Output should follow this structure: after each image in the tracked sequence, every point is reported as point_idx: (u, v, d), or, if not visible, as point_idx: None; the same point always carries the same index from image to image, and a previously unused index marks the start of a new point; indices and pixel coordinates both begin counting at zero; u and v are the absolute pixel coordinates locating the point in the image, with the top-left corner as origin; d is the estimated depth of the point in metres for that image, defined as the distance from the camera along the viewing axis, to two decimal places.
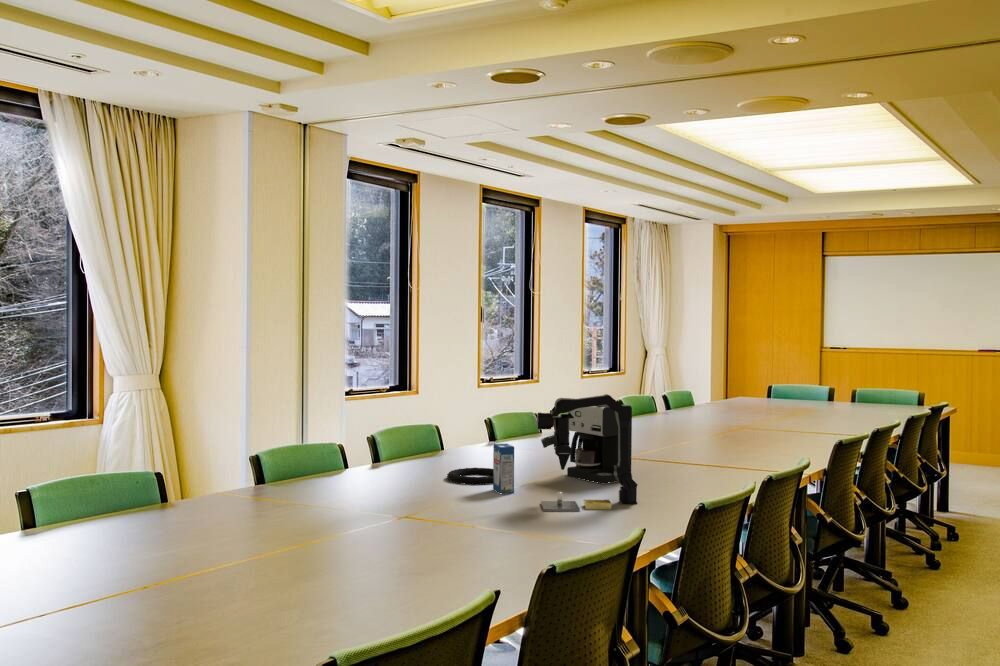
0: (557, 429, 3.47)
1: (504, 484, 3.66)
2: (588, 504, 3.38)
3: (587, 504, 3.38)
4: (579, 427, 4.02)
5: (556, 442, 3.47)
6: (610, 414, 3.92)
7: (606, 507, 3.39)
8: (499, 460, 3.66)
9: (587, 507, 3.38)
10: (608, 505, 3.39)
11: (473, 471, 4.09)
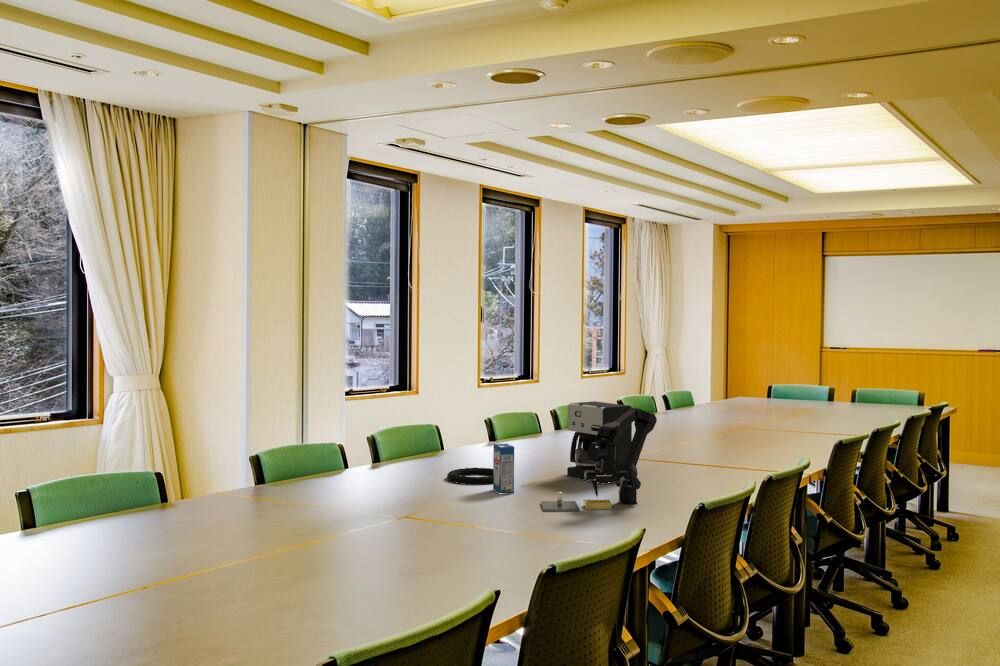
0: None
1: (504, 484, 3.66)
2: (588, 504, 3.38)
3: (587, 504, 3.38)
4: (579, 427, 4.02)
5: (600, 468, 3.44)
6: (611, 414, 3.92)
7: (606, 507, 3.39)
8: (499, 460, 3.66)
9: (587, 507, 3.38)
10: (608, 505, 3.39)
11: (473, 471, 4.09)
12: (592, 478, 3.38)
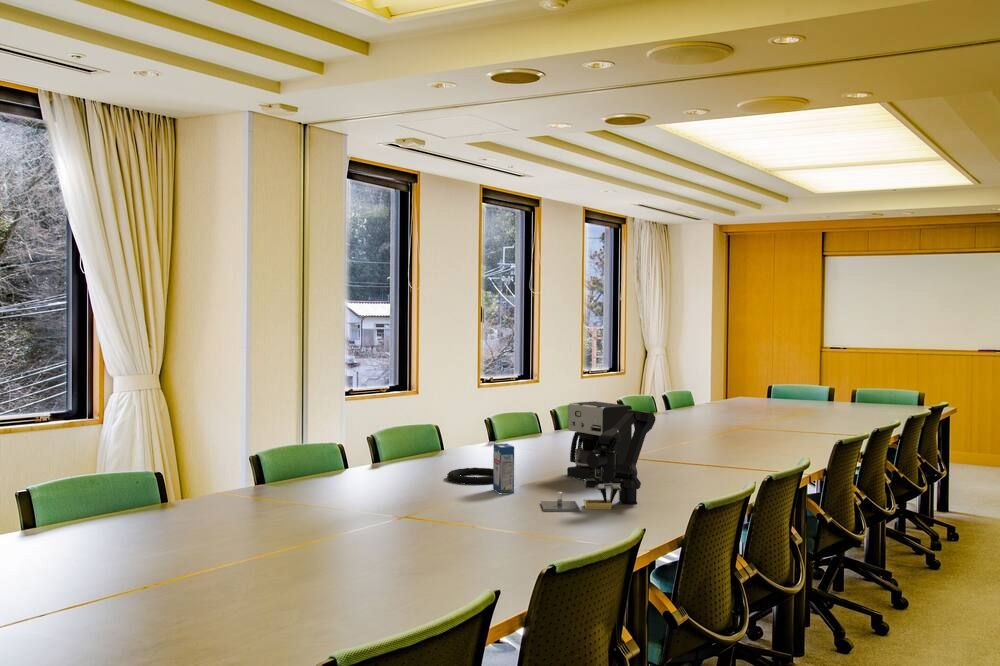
0: None
1: (504, 484, 3.66)
2: (588, 504, 3.38)
3: (587, 504, 3.38)
4: (579, 427, 4.02)
5: (600, 476, 3.44)
6: (610, 414, 3.92)
7: (606, 507, 3.39)
8: (499, 460, 3.66)
9: (587, 507, 3.38)
10: (608, 505, 3.39)
11: (473, 471, 4.09)
12: (592, 486, 3.38)
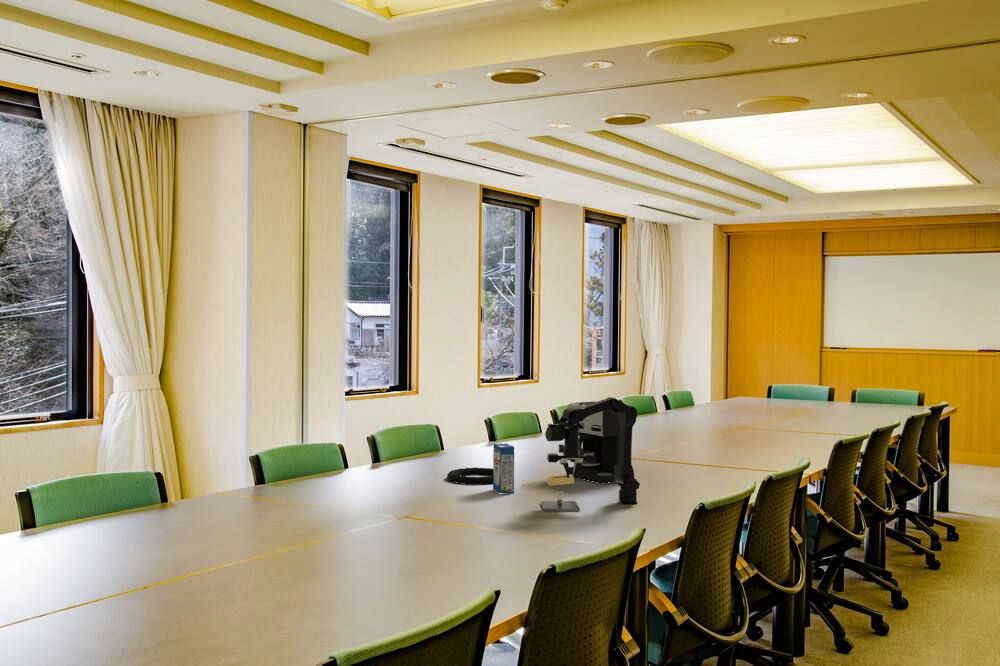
0: None
1: (504, 484, 3.66)
2: (551, 480, 3.37)
3: (550, 480, 3.37)
4: None
5: (563, 451, 3.43)
6: (611, 414, 3.92)
7: (569, 482, 3.38)
8: (499, 460, 3.66)
9: (550, 483, 3.37)
10: (571, 479, 3.38)
11: (473, 471, 4.09)
12: (554, 461, 3.38)
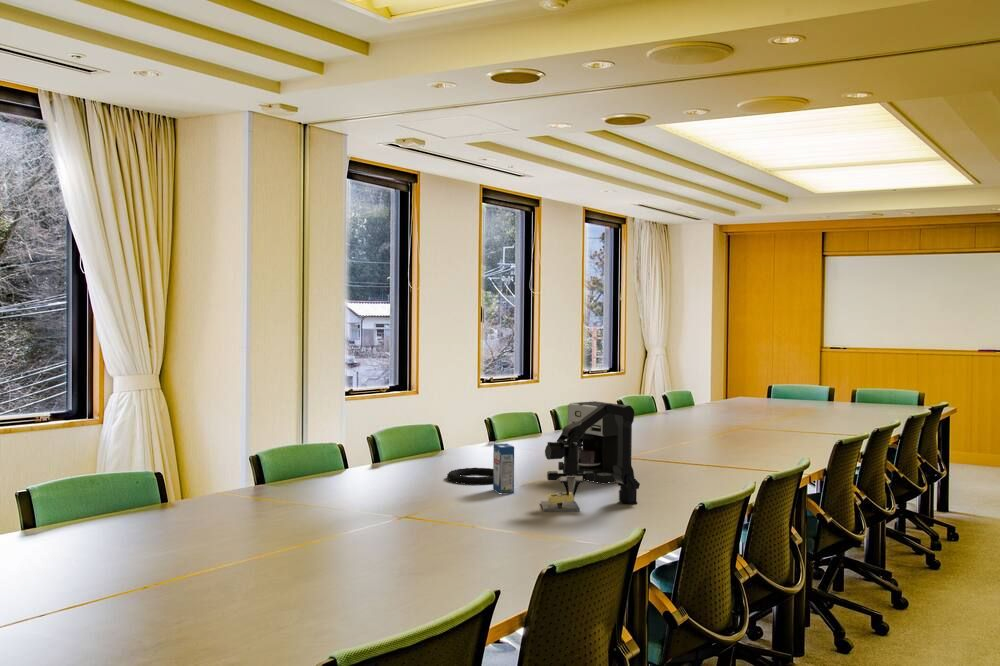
0: None
1: (504, 484, 3.66)
2: (550, 498, 3.38)
3: (549, 499, 3.38)
4: None
5: (563, 469, 3.43)
6: (610, 414, 3.92)
7: (569, 500, 3.38)
8: (499, 460, 3.66)
9: (550, 502, 3.38)
10: (571, 497, 3.38)
11: (473, 471, 4.09)
12: (554, 479, 3.38)
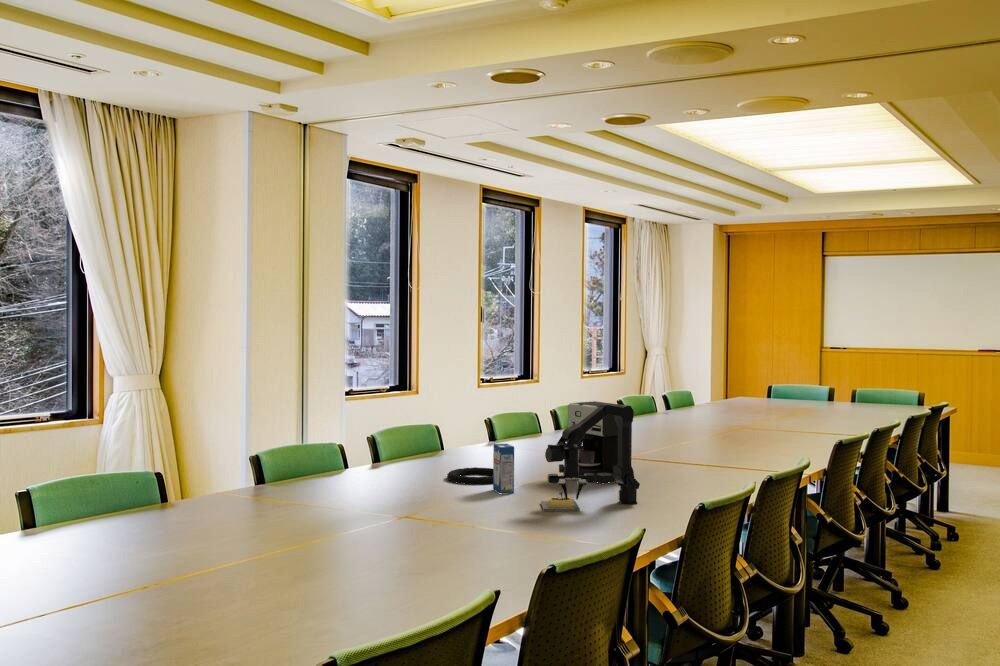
0: None
1: (504, 484, 3.66)
2: (551, 501, 3.38)
3: (550, 501, 3.38)
4: None
5: (563, 472, 3.43)
6: None
7: (569, 504, 3.38)
8: (499, 460, 3.66)
9: (550, 504, 3.38)
10: (571, 502, 3.38)
11: (473, 471, 4.09)
12: (555, 481, 3.38)
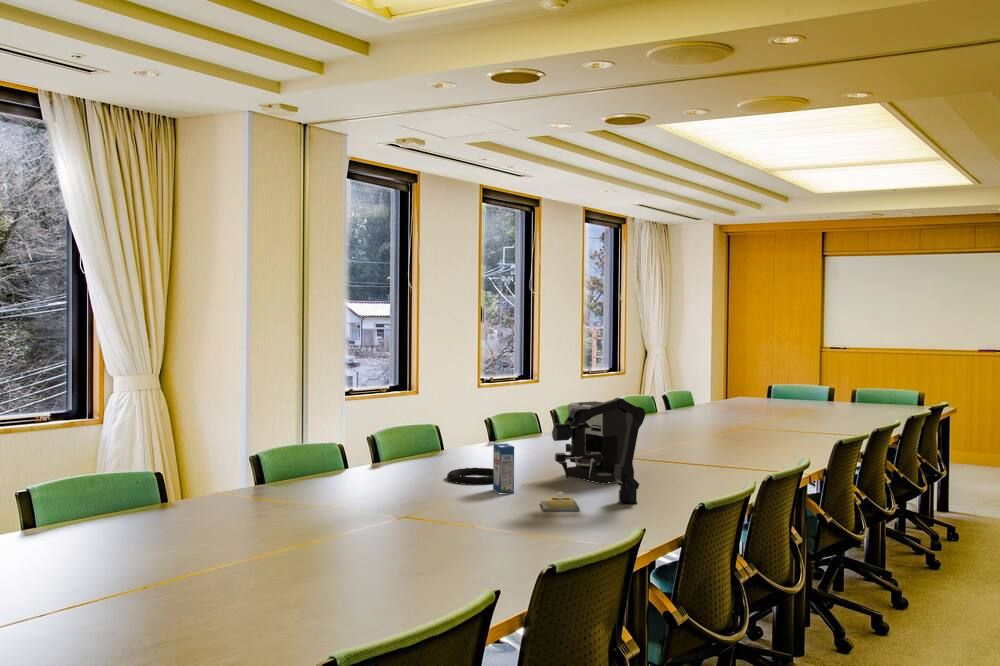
0: None
1: (504, 484, 3.66)
2: (551, 501, 3.38)
3: (550, 501, 3.38)
4: None
5: (570, 451, 3.47)
6: (611, 414, 3.92)
7: (569, 504, 3.38)
8: (499, 460, 3.66)
9: (550, 504, 3.38)
10: (571, 502, 3.38)
11: (473, 471, 4.09)
12: (562, 460, 3.41)
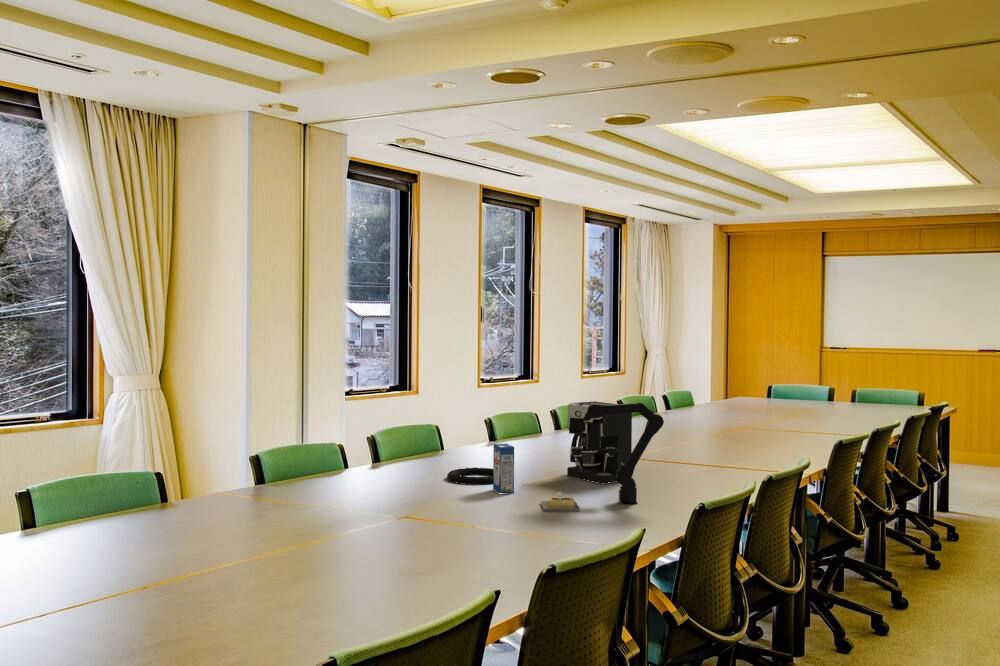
0: None
1: (504, 484, 3.66)
2: (551, 501, 3.38)
3: (550, 501, 3.38)
4: None
5: (586, 445, 3.55)
6: (611, 414, 3.92)
7: (569, 504, 3.38)
8: (499, 460, 3.66)
9: (550, 504, 3.38)
10: (571, 502, 3.38)
11: (473, 471, 4.09)
12: (578, 454, 3.49)
